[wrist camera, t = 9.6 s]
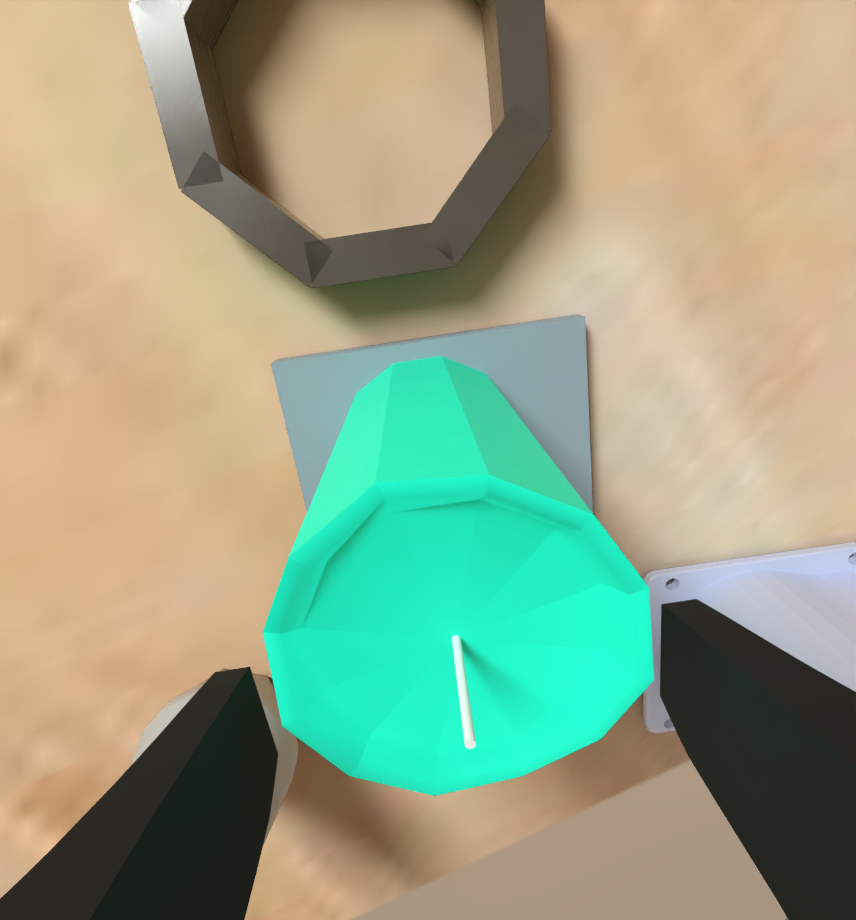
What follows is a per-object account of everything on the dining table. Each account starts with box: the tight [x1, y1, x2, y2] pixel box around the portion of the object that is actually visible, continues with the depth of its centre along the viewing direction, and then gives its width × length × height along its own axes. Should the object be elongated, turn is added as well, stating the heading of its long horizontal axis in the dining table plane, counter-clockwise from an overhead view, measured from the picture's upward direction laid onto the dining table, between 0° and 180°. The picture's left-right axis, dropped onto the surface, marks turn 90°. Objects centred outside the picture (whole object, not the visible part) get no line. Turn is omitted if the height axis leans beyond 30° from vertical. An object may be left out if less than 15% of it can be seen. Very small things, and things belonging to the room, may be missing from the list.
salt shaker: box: [132, 669, 299, 845], centre depth 16 cm, size 6×6×13 cm
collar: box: [128, 0, 552, 288], centre depth 14 cm, size 10×10×2 cm
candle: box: [263, 356, 654, 796], centre depth 12 cm, size 6×6×12 cm
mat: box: [271, 315, 593, 513], centre depth 19 cm, size 10×10×1 cm
